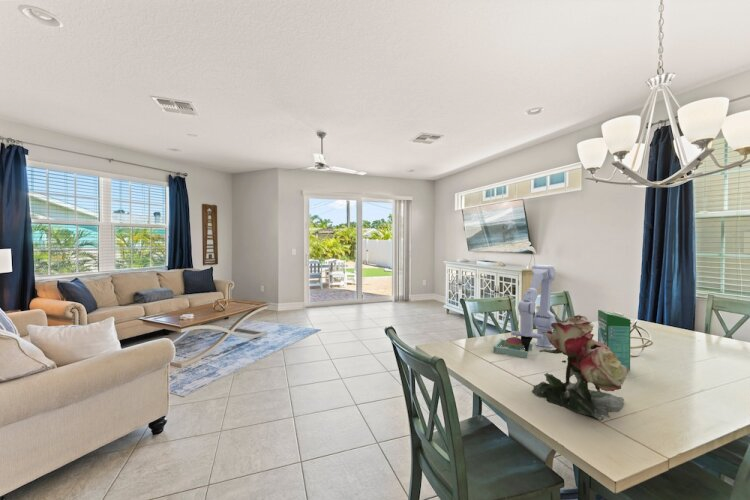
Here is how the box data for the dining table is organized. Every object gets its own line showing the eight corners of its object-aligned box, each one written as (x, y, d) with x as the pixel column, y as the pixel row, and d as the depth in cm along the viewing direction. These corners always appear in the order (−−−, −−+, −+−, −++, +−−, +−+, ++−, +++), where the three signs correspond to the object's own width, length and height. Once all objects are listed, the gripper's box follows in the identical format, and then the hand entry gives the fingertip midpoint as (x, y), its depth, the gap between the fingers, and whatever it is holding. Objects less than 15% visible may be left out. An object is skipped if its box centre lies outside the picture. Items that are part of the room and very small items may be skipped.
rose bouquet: (617, 428, 101) (618, 332, 100) (525, 394, 124) (525, 315, 124) (644, 403, 116) (644, 318, 115) (557, 376, 140) (557, 306, 139)
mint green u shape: (500, 344, 182) (500, 339, 182) (532, 349, 174) (532, 343, 174) (493, 352, 170) (493, 346, 170) (527, 358, 161) (527, 352, 161)
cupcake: (520, 348, 175) (520, 326, 175) (525, 354, 167) (525, 330, 166) (503, 348, 176) (503, 326, 176) (508, 353, 168) (508, 330, 167)
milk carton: (630, 371, 144) (630, 314, 143) (607, 369, 145) (607, 313, 145) (619, 363, 153) (619, 309, 152) (597, 362, 154) (597, 309, 154)
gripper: (509, 324, 168) (509, 350, 169) (541, 328, 160) (541, 356, 161) (512, 321, 174) (512, 347, 175) (543, 325, 166) (543, 351, 167)
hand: (526, 351), depth 168 cm, fingers closed
